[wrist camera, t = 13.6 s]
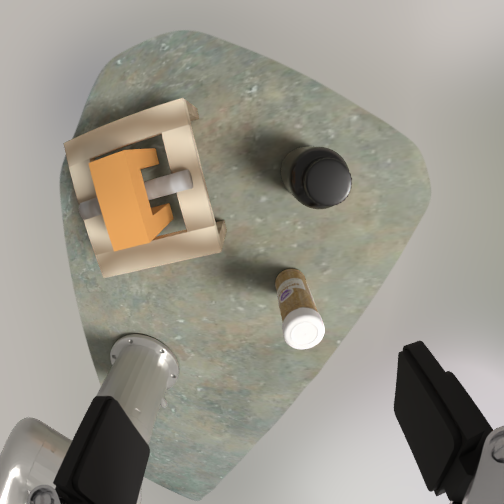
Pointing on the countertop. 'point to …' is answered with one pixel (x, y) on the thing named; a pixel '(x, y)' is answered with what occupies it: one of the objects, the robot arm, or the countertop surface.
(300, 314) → the sprinkles bottle
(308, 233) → the countertop surface
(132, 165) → the orange block
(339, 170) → the supplement bottle
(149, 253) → the wooden frame stool
